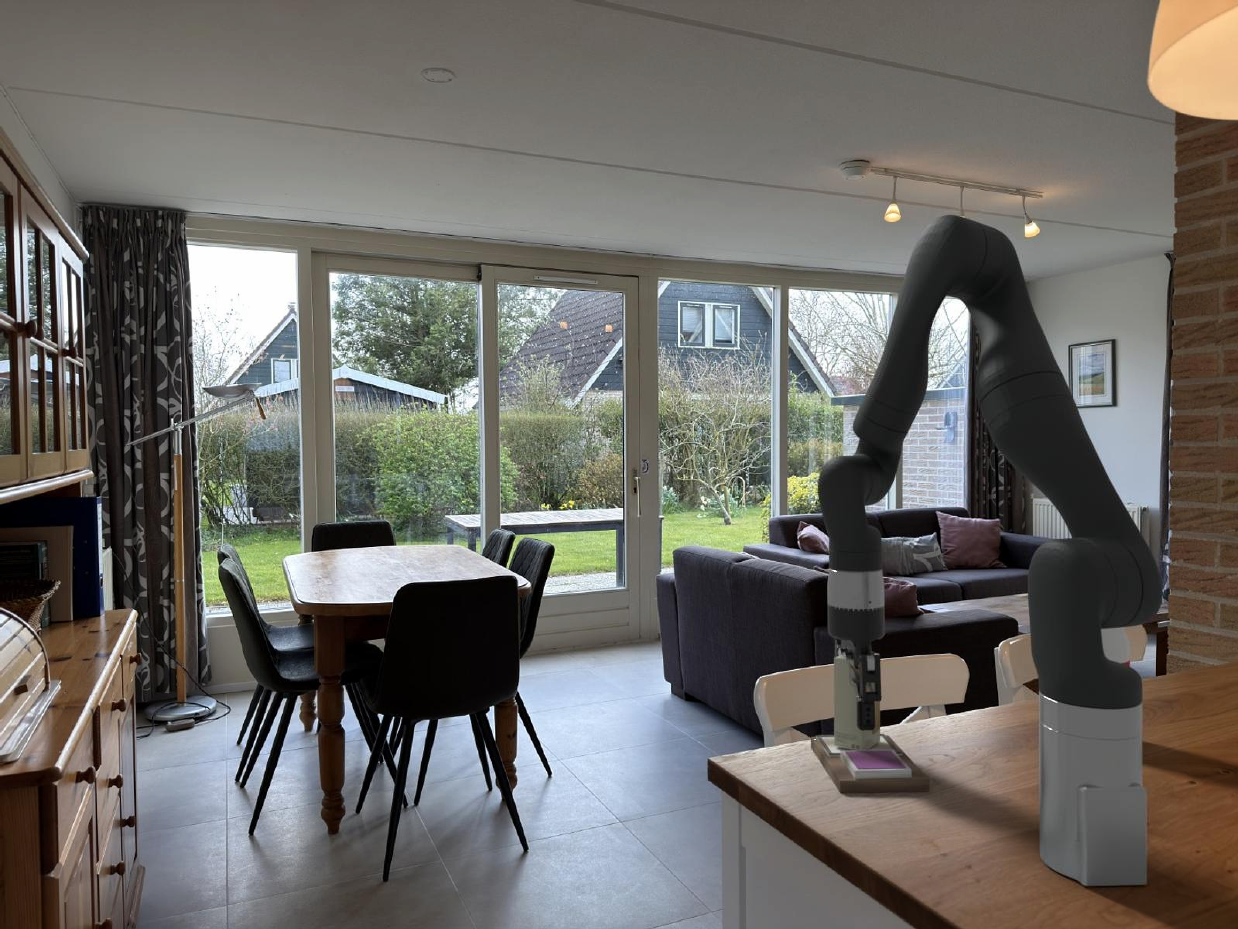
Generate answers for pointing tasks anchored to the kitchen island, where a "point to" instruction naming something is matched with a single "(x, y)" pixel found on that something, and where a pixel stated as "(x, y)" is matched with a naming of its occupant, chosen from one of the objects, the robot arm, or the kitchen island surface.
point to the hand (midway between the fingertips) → (857, 719)
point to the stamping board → (869, 767)
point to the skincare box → (850, 711)
